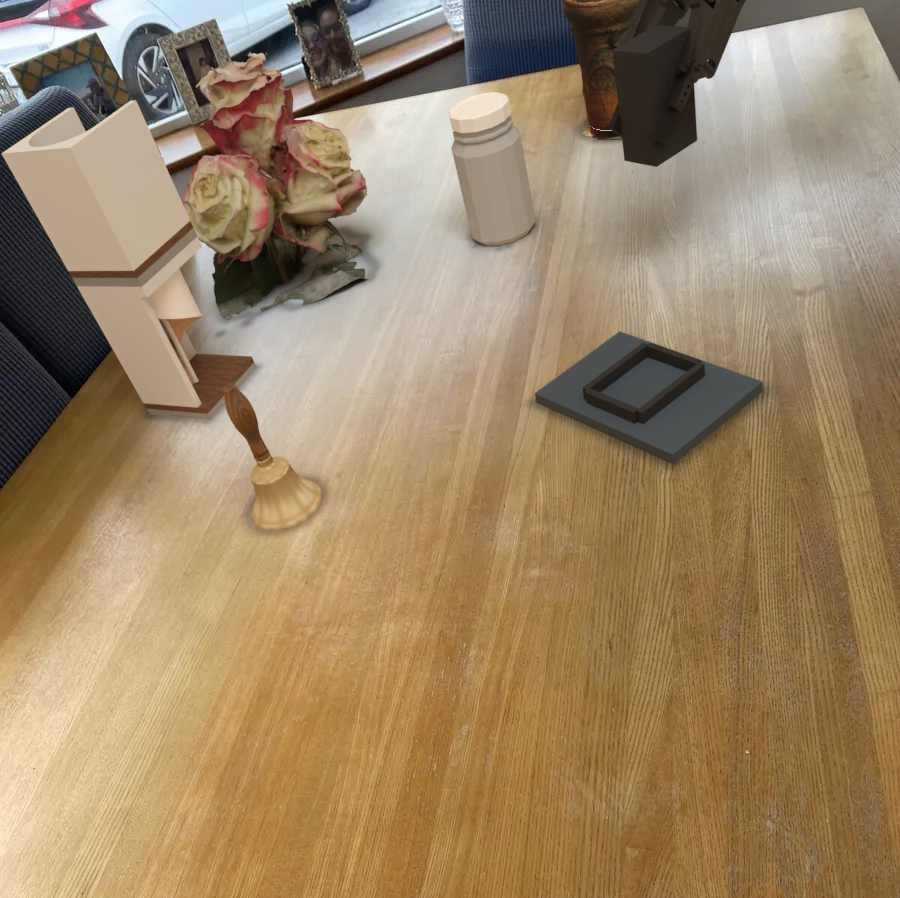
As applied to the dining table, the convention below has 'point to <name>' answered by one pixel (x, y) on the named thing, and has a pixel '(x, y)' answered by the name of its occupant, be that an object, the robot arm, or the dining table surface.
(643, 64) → the pad block
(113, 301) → the coffee grinder
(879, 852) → the dining table surface
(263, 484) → the hand bell
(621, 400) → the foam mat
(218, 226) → the rose bouquet
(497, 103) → the jar
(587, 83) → the vessel
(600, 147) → the dining table surface
